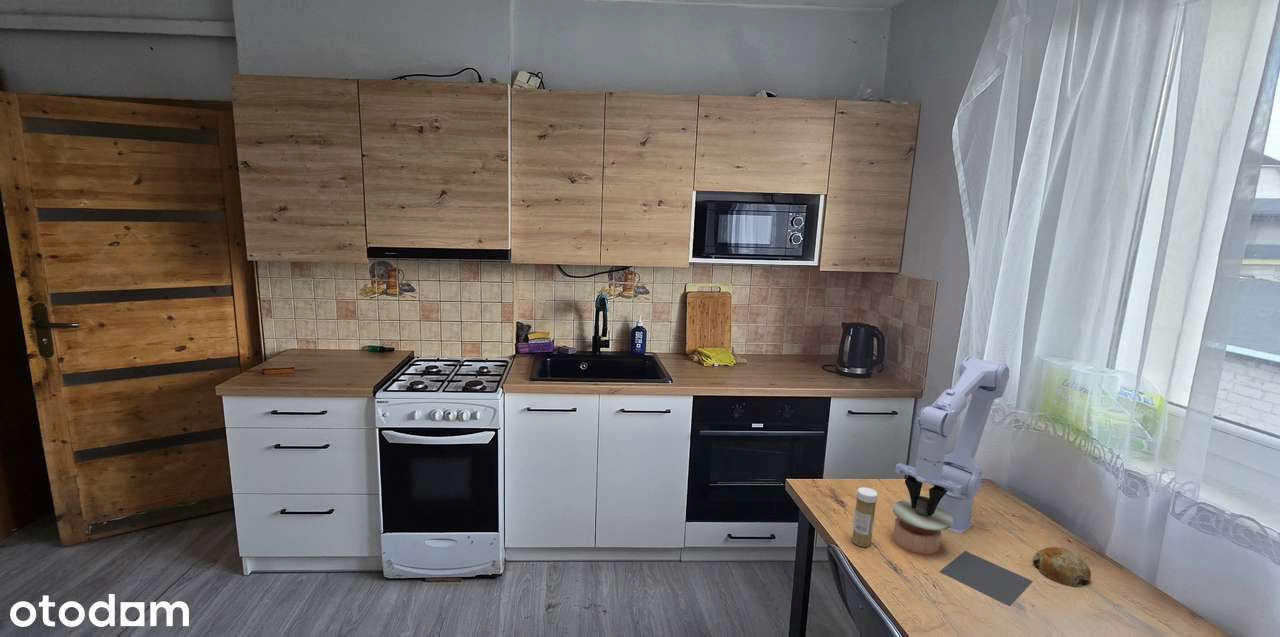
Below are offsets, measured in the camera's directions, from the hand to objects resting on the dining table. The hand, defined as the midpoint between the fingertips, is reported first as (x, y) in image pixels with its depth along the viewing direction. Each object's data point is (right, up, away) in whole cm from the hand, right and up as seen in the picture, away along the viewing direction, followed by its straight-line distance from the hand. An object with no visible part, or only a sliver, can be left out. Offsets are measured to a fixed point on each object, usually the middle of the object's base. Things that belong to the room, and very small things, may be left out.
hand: (922, 510), depth 137 cm
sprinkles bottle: (-14, -8, +1) cm, 17 cm away
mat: (+9, -11, -11) cm, 18 cm away
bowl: (-1, -9, +2) cm, 9 cm away
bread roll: (+27, -12, -8) cm, 31 cm away
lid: (0, -1, 0) cm, 1 cm away
